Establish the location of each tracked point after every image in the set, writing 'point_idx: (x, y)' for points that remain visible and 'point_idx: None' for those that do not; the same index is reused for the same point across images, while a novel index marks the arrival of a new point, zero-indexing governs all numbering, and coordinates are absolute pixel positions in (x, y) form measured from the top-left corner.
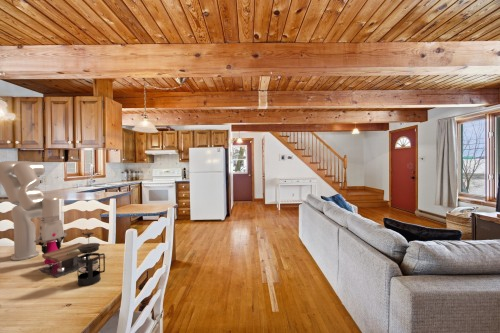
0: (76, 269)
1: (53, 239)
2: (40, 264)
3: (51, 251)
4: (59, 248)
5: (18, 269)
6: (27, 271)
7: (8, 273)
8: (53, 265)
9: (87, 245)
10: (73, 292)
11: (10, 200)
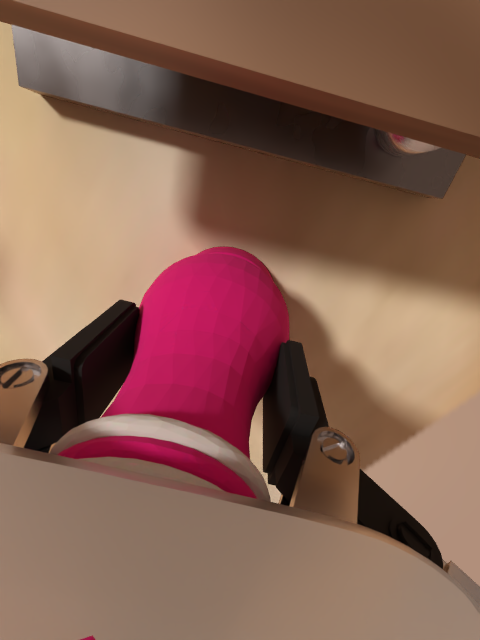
0: None
1: (155, 477)
2: None
3: (250, 307)
4: (127, 304)
5: (374, 399)
6: (414, 311)
7: (441, 399)
8: (338, 139)
9: None
10: None
11: None
